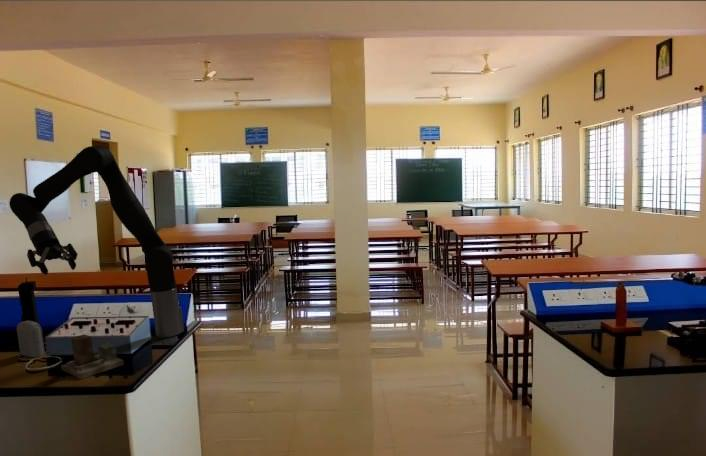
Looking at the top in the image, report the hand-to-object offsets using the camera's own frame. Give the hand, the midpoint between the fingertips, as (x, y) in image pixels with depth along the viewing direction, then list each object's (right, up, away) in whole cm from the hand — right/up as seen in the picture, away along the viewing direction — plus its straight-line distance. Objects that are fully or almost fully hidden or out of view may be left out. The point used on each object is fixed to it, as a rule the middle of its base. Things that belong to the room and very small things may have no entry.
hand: (60, 270), depth 172 cm
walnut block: (+15, -29, -12) cm, 34 cm away
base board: (+16, -30, -10) cm, 35 cm away
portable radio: (-29, -30, +31) cm, 52 cm away
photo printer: (-15, -31, +9) cm, 35 cm away
